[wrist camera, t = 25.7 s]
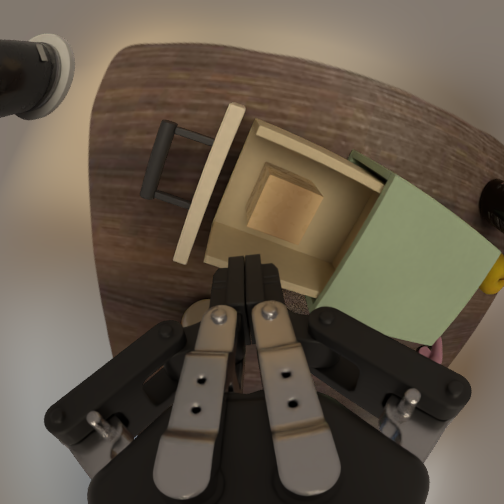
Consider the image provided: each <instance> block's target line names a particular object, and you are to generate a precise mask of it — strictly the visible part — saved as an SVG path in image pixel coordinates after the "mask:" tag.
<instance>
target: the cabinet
mask: <svg viewBox="0 0 504 504" xmlns="http://www.w3.org/2000/svg"><path fill="white" fill-rule="evenodd" d="M348 161H350V162H352V163H354V164H356V165H358V166H360V167H361V168H363V169H365V170H367V171H369V172H371V173H372V174H374V175H376V176H378V177H379V178H381V179H383V180H384V181H386V182H387V183H386V184H385V186H384V188H383V190H382V192H381V194H380V196H379V197H378V199H377V201H376V203H375V205H374V206H373V208H372V210H371V212H370V213H369V215H368V217H367V219H366V220H365V222H364V224H363V226H362V227H361V229H360V231H359V232H358V234H357V236H356V237H355V239H354V241H353V242H352V244H351V246H350V247H349V249H348V251H347V252H346V254H345V256H344V257H343V259H342V260H341V262H340V264H339V265H338V267H337V268H336V270H335V272H334V273H333V275H332V276H331V278H330V279H329V281H328V283H327V284H326V286H325V287H324V289H323V290H322V292H321V293H320V295H319V296H318V298H317V299H316V298H313V297H310V296H306V295H305V298H306V302H307V306H308V309H309V312H311V311H313V310H314V309H316V308H319V307H324V306H328V307H333V308H336V309H338V310H340V311H342V312H344V313H346V314H347V315H349V316H351V317H353V318H355V319H357V320H358V321H360V322H362V323H364V324H366V325H368V326H370V327H371V328H373V329H375V330H377V331H379V332H381V333H383V334H384V335H386V336H390V337H394V338H398V339H403V340H407V341H411V342H415V343H420V344H424V345H429V346H432V345H433V344H434V343H435V341H436V340H437V339H438V338H439V337H440V336H441V335H442V333H443V332H444V331H445V330H446V329H447V328H448V326H449V325H450V324H451V323H452V322H453V320H454V319H455V318H456V317H457V315H458V314H459V313H460V312H461V310H462V309H463V308H464V306H465V305H466V304H467V302H468V301H469V300H470V298H471V297H472V296H473V294H474V293H475V292H476V290H477V289H478V287H479V286H480V285H481V283H482V282H483V280H484V279H485V277H486V276H487V274H488V273H489V271H490V270H491V268H492V267H493V265H494V264H495V262H496V260H497V259H498V257H499V256H500V254H501V252H500V251H499V250H498V249H497V248H496V247H495V246H494V245H492V244H491V243H490V242H489V241H488V240H487V239H485V238H484V237H483V236H482V235H481V234H479V233H478V232H477V231H476V230H474V229H473V228H472V227H471V226H469V225H468V224H467V223H466V222H464V221H463V220H462V219H460V218H459V217H458V216H456V215H455V214H454V213H452V212H451V211H450V210H448V209H447V208H446V207H444V206H443V205H442V204H440V203H439V202H437V201H436V200H434V199H433V198H432V197H430V196H429V195H427V194H426V193H424V192H423V191H421V190H420V189H418V188H417V187H415V186H414V185H412V184H411V183H409V182H408V181H406V180H405V179H403V178H401V177H400V176H398V175H397V174H395V173H393V172H392V171H390V170H388V169H387V168H385V167H383V166H382V165H380V164H378V163H377V162H375V161H373V160H371V159H370V158H368V157H366V156H364V155H363V154H361V153H359V152H357V151H355V150H354V149H353V150H352V152H351V154H350V156H349V158H348Z"/></svg>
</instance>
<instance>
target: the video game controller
mask: <svg viewBox="0 0 504 504" xmlns="http://www.w3.org/2000/svg"><path fill="white" fill-rule="evenodd" d="M418 353H420V354H422V355H424V356H426V357H428V358H429V359H431V360H433V361H435V362H437V363H439V364H441V362H442V340H441V337H439V338H438V339H437V340H436V341H435V343H434V344H433V345H432V351H430V350H429V349H428V348H427V347H425V346H424V347H422V348H420V349H419V350H418Z"/></svg>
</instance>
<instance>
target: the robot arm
mask: <svg viewBox="0 0 504 504" xmlns="http://www.w3.org/2000/svg"><path fill="white" fill-rule="evenodd" d="M60 75H61V58H60V55H59V52H58V51H57V49H56V48H55V47H54V46H53V45H51V44H49V43H44V42H29V41H16V40H0V118H1V117H5V116H8V115H13V114H17V113H22V112H29V111H34V110H37V109H39V108H41V107H42V106H43V105H45V104H46V103H47V102H48V101H49V99H50V98H51V97H52V95H53V94H54V92H55V90H56V88H57V86H58V83H59V80H60ZM250 332H251V337H250ZM251 339H252V344H256V349H257V356H258V363H259V369H260V375H261V381H262V387H263V390H260V391H256V392H253V393H250V394H243V385H244V372H245V345H251ZM162 365H163V366H164V367H163V368H162V369H161V370H160V371H159V372H158V373H156V374H155V375H154V376H153V377H152V378H151V379H149V380H148V381H147V382H146V383H145V384H143V383H144V381H145V380H146V379H147V378H148V377H149V376H151V375H152V374H153V373H154V372H155V371H156V370H158V369H159V368H160V367H161V366H162ZM311 373H312V374H313V375H314V376H316V377H317V378H319V379H320V380H322V381H323V382H324V383H326V384H327V385H329V386H330V387H332V388H333V389H335V390H336V391H338V392H339V393H340V394H342V395H343V396H345V397H346V398H348V399H349V400H351V401H352V402H354V403H355V404H357V405H358V406H360V407H362V408H363V409H365V410H366V411H368V412H369V413H371V414H372V415H374V416H376V417H377V418H379V420H378V426H379V429H380V431H381V432H382V433H381V432H380V431H378V430H377V429H376V428H374V427H373V426H371V425H370V424H368V423H367V422H366V421H364V420H363V419H361V418H360V417H359V416H357V415H356V414H354V413H353V412H352V411H350V410H349V409H348V408H346V407H345V406H344V405H342V404H341V403H339V402H338V401H337V400H335V399H333V398H332V397H330V396H328V395H325V394H323V393H320V392H316V389H315V386H314V382H313V379H312V376H311ZM470 397H471V386H470V384H469V382H468V381H467V380H466V378H464V377H463V376H461V375H460V374H458V373H456V372H454V371H452V370H450V369H448V368H446V367H444V366H443V365H441V364H439V363H437V362H435V361H433V360H431V359H429V358H428V357H426V356H424V355H422V354H420V353H418V352H416V351H414V350H412V349H411V348H409V347H407V346H405V345H403V344H401V343H399V342H398V341H396V340H394V339H392V338H390V337H388V336H386V335H384V334H383V333H381V332H379V331H377V330H375V329H373V328H371V327H370V326H368V325H366V324H364V323H362V322H360V321H358V320H357V319H355V318H353V317H351V316H349V315H347V314H346V313H344V312H342V311H340V310H338V309H336V308H333V307H328V306H324V307H319V308H316V309H314V310H313V311H311V312H310V314H309V315H302V314H297V313H294V312H292V311H290V310H289V309H288V308H287V307H286V306H285V303H284V298H283V292H282V287H281V282H280V277H279V271H278V268H277V267H276V266H275V265H274V264H273V263H266V264H261V257H260V254H252V255H245V259H244V255H243V256H233V257H229V258H228V268H219V269H218V270H217V271H216V272H215V274H214V275H213V284H212V289H211V297H210V305H209V309H208V310H207V311H205V313H204V314H203V316H202V320H201V321H200V322H198V323H196V324H193V325H190V326H187V327H183V326H182V324H181V323H179V322H177V321H174V320H167V321H163V322H160V323H158V324H157V325H155V326H154V327H153V328H151V329H150V330H149V331H148V332H146V333H145V334H144V335H142V336H141V337H140V338H139V339H137V340H136V341H135V342H133V343H132V344H131V345H129V346H128V347H127V348H126V349H124V350H123V351H122V352H120V353H119V354H118V355H117V356H115V357H114V358H113V359H111V360H110V361H109V362H108V363H106V364H105V365H104V366H102V367H101V368H100V369H98V370H97V371H96V372H95V373H93V374H92V375H91V376H90V377H88V378H87V379H86V380H84V381H83V382H82V383H80V384H79V385H78V386H76V387H75V388H74V389H73V390H71V391H70V392H69V393H68V394H66V395H65V396H64V397H62V398H61V399H60V400H59V401H57V402H56V403H55V404H53V405H52V406H51V407H50V408H49V409H48V410H47V412H46V414H45V418H44V423H45V427H46V429H47V430H48V431H49V432H50V433H52V434H53V435H54V436H55V437H56V438H57V439H59V441H60V442H61V443H62V444H63V445H65V446H66V447H67V448H69V449H70V451H71V452H72V454H73V455H74V457H75V458H76V459H77V461H78V462H79V464H80V465H81V466H82V468H83V469H84V471H85V472H86V473H87V474H88V476H89V477H90V478H91V482H90V485H89V487H88V493H87V499H88V504H425V502H426V498H427V495H428V491H429V475H428V471H427V469H426V467H425V465H424V464H423V463H424V462H425V460H426V459H427V457H428V455H429V454H430V453H431V451H432V450H433V448H434V447H435V445H436V443H437V442H438V440H439V438H440V437H441V435H442V433H443V432H444V430H445V428H446V427H447V426H448V425H449V424H450V423H451V422H452V420H453V419H454V418H455V417H456V416H457V415H458V413H459V412H460V411H461V410H462V408H463V407H464V406H465V405H466V404H467V402H468V401H469V399H470ZM172 404H173V405H172ZM170 405H172V406H170ZM169 406H170V407H169ZM168 407H169V408H168ZM167 408H168V409H167ZM160 414H161V415H160ZM159 415H160V416H159ZM150 423H151V424H150ZM149 424H150V425H149ZM148 425H149V426H148ZM147 426H148V427H147ZM146 427H147V428H146ZM145 428H146V429H145ZM144 429H145V430H144ZM142 430H144V431H143V432H142V433H141V434H139V433H140V432H141V431H142ZM138 434H139V435H138ZM137 435H138V436H137ZM136 436H137V437H136ZM134 437H136V438H135V439H134Z"/></svg>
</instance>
